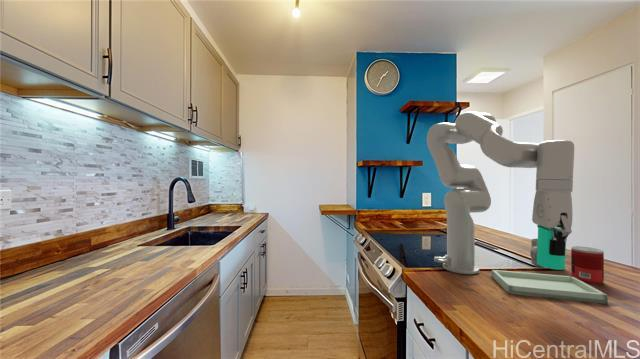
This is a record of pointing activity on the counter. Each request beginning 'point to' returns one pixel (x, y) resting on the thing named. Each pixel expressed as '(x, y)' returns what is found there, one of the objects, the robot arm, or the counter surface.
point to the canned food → (587, 264)
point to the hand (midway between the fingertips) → (550, 251)
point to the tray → (548, 286)
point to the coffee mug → (534, 252)
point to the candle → (543, 251)
